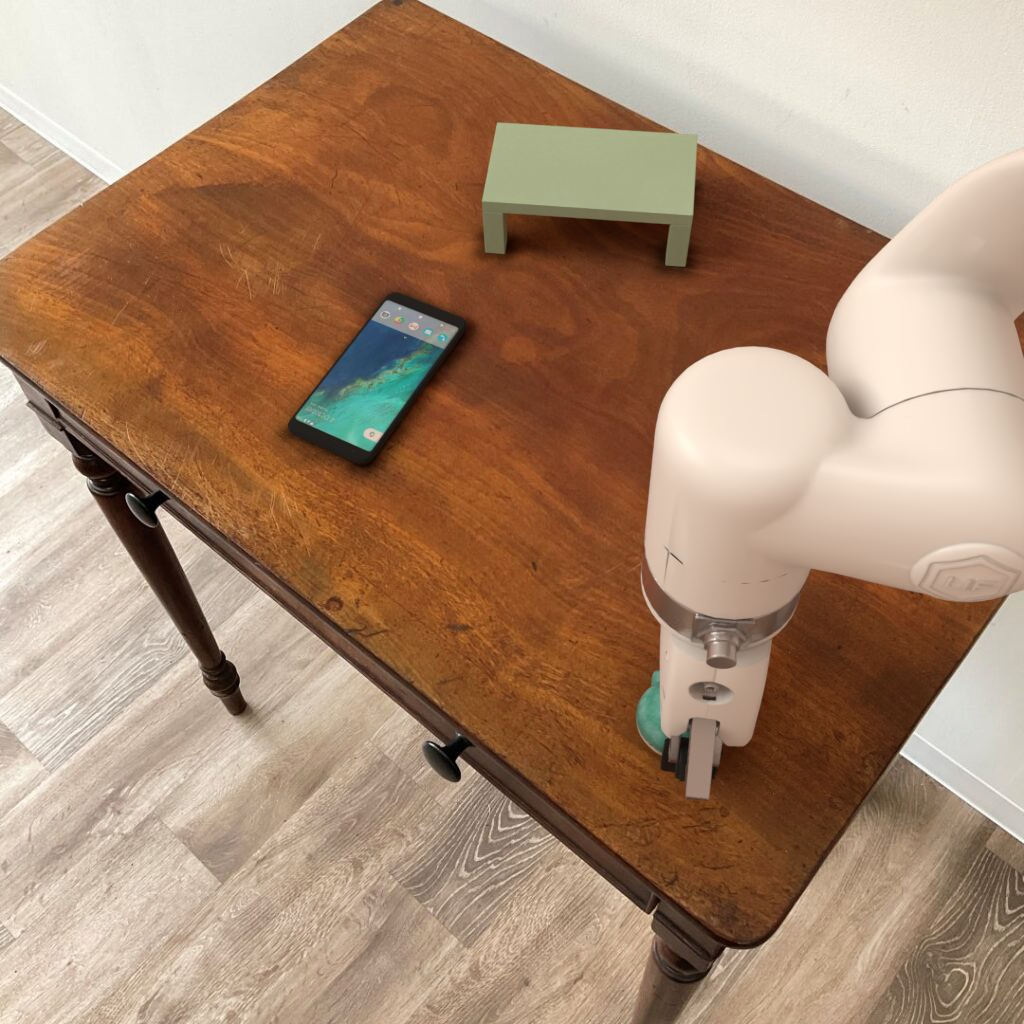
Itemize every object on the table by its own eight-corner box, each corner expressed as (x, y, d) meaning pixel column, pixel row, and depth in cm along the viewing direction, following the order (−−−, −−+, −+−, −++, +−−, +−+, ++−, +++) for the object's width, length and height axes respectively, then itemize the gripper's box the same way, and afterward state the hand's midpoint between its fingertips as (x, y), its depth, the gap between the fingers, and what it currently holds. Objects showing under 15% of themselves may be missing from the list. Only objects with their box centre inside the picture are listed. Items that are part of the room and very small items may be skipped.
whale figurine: (612, 718, 67) (614, 694, 64) (695, 642, 70) (700, 615, 66) (683, 786, 65) (689, 765, 62) (766, 705, 67) (775, 680, 64)
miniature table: (690, 188, 92) (697, 134, 87) (685, 267, 87) (693, 215, 83) (499, 175, 93) (497, 122, 89) (485, 253, 89) (481, 200, 84)
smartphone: (470, 319, 84) (366, 464, 77) (471, 325, 85) (367, 470, 78) (391, 287, 86) (281, 427, 79) (392, 294, 87) (284, 433, 80)
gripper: (807, 752, 47) (751, 859, 62) (803, 420, 56) (755, 585, 71) (629, 734, 48) (617, 844, 63) (653, 410, 56) (637, 575, 72)
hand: (690, 706), depth 67 cm, fingers closed on whale figurine, 7 cm apart
